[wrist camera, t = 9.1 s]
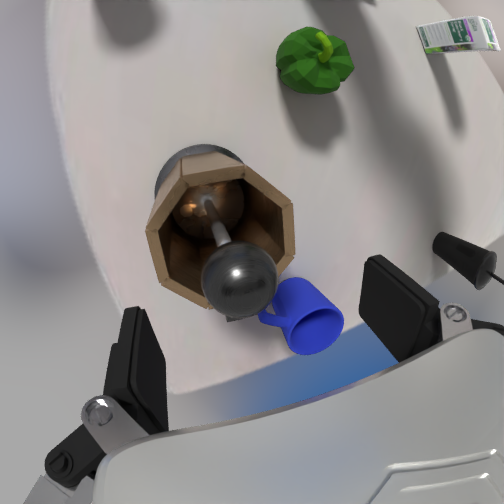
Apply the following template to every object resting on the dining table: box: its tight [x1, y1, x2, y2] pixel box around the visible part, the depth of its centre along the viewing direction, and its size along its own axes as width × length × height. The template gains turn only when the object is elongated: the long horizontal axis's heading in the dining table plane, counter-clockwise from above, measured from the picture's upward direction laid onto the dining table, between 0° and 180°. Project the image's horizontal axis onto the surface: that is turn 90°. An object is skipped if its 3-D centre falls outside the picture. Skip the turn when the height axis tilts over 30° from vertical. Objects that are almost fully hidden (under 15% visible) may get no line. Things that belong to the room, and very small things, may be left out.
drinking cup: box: [433, 232, 504, 290], centre depth 40 cm, size 8×8×20 cm
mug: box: [258, 277, 344, 355], centre depth 39 cm, size 8×12×10 cm
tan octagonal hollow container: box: [145, 144, 295, 322], centre depth 27 cm, size 12×14×18 cm
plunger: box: [172, 179, 278, 318], centre depth 21 cm, size 8×8×19 cm
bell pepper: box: [276, 27, 354, 94], centre depth 26 cm, size 8×8×10 cm
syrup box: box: [416, 16, 501, 54], centre depth 25 cm, size 6×6×14 cm
